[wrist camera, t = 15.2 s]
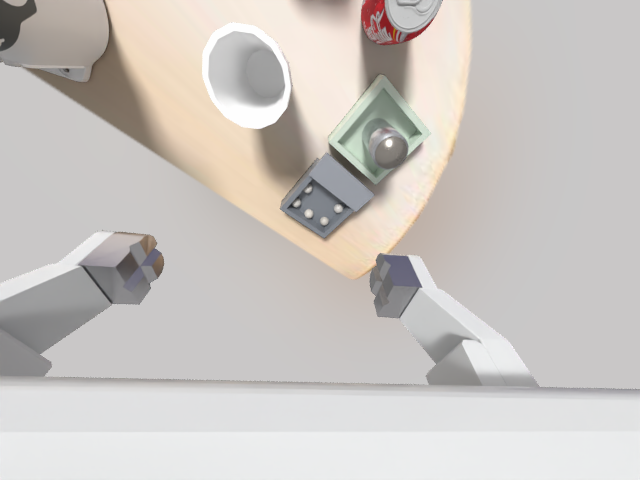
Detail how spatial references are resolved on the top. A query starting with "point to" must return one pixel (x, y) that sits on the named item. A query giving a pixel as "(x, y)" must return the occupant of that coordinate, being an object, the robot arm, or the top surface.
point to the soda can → (397, 19)
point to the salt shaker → (384, 144)
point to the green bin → (371, 105)
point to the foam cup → (247, 75)
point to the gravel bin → (325, 196)
